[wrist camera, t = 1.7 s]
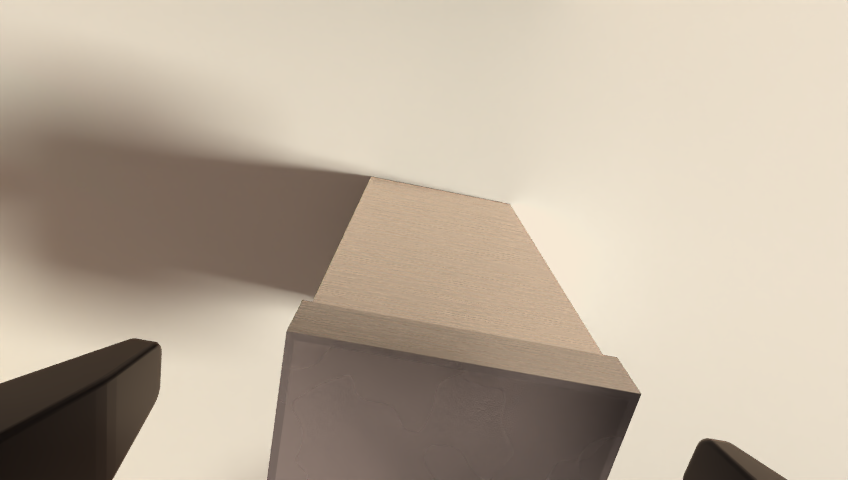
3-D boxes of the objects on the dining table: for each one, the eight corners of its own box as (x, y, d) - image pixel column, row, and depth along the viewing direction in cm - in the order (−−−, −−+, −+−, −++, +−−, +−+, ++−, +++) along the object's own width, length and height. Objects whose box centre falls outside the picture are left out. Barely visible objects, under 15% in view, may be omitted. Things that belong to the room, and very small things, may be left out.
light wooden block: (479, 330, 16) (543, 636, 7) (345, 306, 16) (252, 594, 7) (514, 201, 15) (641, 394, 6) (368, 172, 14) (286, 330, 6)
